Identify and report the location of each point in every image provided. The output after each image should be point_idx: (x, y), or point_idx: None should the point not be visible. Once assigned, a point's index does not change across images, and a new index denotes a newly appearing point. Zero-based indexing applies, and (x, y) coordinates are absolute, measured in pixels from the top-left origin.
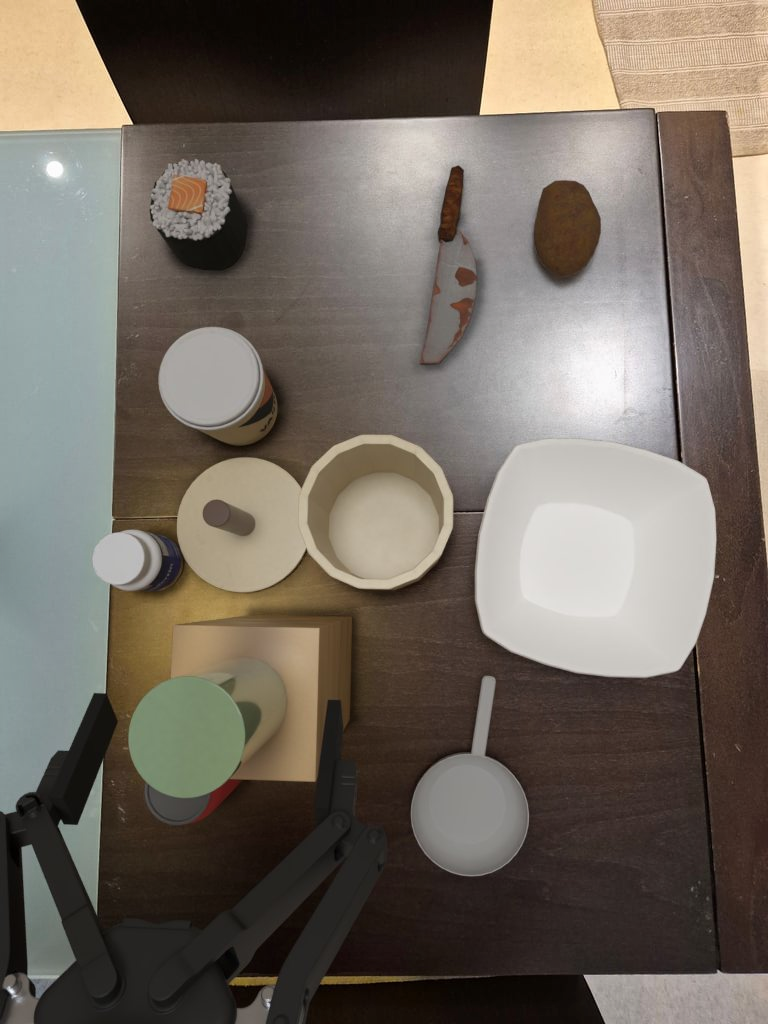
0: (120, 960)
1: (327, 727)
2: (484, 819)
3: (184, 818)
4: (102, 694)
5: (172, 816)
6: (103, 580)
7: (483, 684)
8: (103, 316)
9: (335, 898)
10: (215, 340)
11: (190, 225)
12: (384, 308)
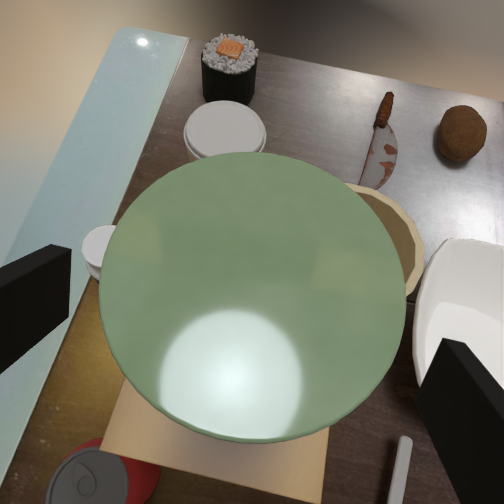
0: None
1: (475, 373)
2: None
3: None
4: (64, 249)
5: None
6: (86, 260)
7: (401, 443)
8: (145, 117)
9: None
10: (236, 110)
11: (226, 65)
12: (334, 155)
